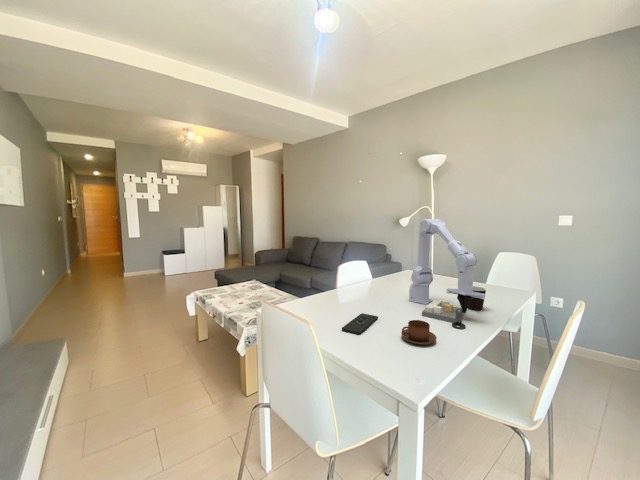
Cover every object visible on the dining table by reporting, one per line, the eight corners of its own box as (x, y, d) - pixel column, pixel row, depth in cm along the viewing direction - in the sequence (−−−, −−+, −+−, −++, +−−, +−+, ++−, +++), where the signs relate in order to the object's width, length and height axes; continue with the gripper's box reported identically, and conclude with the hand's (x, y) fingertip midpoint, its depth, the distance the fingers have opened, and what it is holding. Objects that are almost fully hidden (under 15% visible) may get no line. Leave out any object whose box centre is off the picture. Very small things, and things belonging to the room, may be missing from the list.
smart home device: (378, 316, 122) (360, 332, 105) (378, 319, 122) (360, 336, 105) (361, 312, 126) (340, 327, 109) (361, 316, 126) (340, 332, 109)
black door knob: (450, 327, 112) (450, 310, 111) (453, 323, 116) (454, 307, 115) (463, 330, 109) (464, 312, 108) (466, 326, 113) (467, 309, 112)
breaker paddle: (444, 310, 125) (444, 305, 125) (445, 309, 127) (445, 304, 127) (451, 312, 123) (451, 306, 123) (452, 311, 125) (452, 305, 125)
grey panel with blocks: (421, 315, 125) (422, 305, 125) (433, 306, 137) (434, 297, 137) (455, 323, 116) (455, 312, 115) (464, 313, 128) (465, 303, 128)
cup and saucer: (417, 350, 93) (417, 332, 93) (394, 336, 104) (394, 320, 104) (443, 343, 98) (444, 327, 97) (419, 331, 109) (419, 315, 108)
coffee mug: (468, 304, 140) (468, 285, 139) (487, 308, 134) (488, 288, 133) (459, 310, 132) (460, 289, 131) (479, 314, 126) (480, 293, 125)
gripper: (444, 280, 121) (443, 310, 122) (482, 285, 112) (481, 318, 113) (449, 277, 127) (448, 306, 128) (486, 282, 117) (484, 313, 118)
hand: (464, 312), depth 121 cm, fingers closed
